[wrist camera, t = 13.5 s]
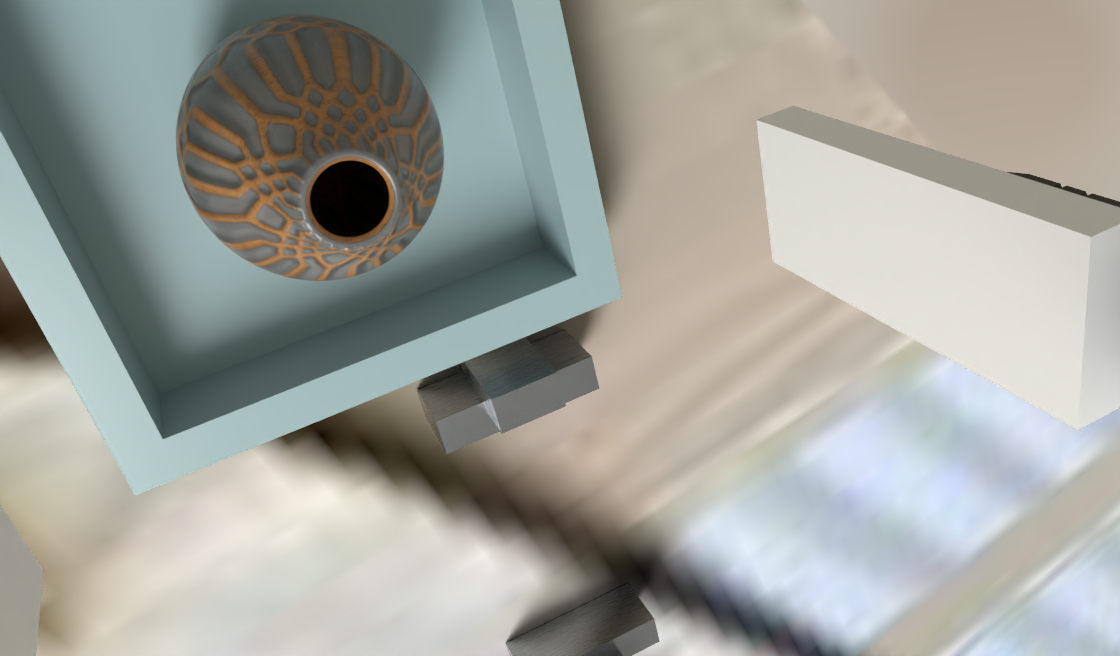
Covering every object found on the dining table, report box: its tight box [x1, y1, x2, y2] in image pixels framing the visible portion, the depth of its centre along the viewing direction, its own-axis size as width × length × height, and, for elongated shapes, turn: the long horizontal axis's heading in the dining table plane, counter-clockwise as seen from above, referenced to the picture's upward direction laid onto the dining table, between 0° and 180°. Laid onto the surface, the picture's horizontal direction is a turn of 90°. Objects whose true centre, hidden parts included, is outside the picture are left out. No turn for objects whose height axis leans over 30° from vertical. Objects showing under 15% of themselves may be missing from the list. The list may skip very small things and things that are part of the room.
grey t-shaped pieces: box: [417, 330, 659, 656], centre depth 37 cm, size 6×17×4 cm, turn 13°
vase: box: [176, 15, 444, 281], centre depth 25 cm, size 7×7×9 cm
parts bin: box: [0, 0, 622, 495], centre depth 28 cm, size 16×16×4 cm
